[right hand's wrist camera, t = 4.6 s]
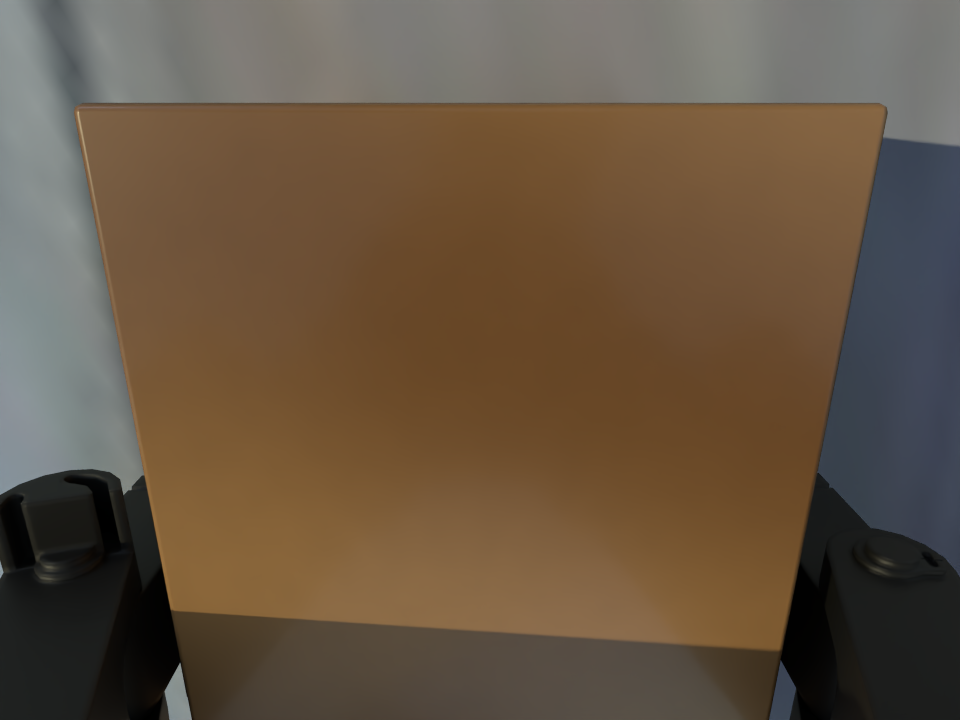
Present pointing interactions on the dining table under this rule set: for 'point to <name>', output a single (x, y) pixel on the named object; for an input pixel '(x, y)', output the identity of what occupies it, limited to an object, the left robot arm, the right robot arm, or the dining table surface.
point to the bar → (480, 393)
